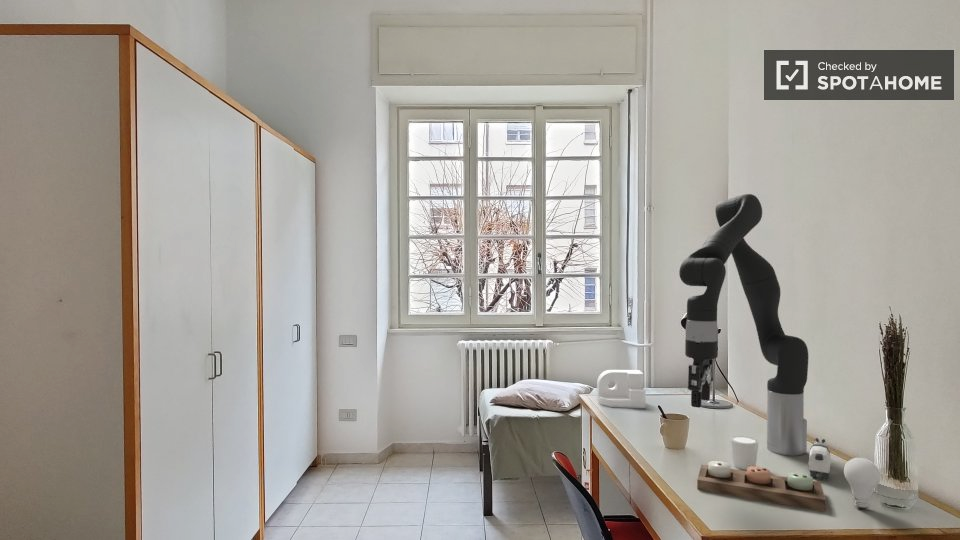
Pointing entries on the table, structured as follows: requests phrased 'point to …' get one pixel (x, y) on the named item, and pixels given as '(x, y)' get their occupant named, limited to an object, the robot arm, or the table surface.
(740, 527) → the table surface
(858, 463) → the light bulb
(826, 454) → the giant panda
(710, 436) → the table surface
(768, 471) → the button three
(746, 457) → the white tapered cylinder
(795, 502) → the button board
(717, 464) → the button one
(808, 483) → the button two
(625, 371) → the tape dispenser
